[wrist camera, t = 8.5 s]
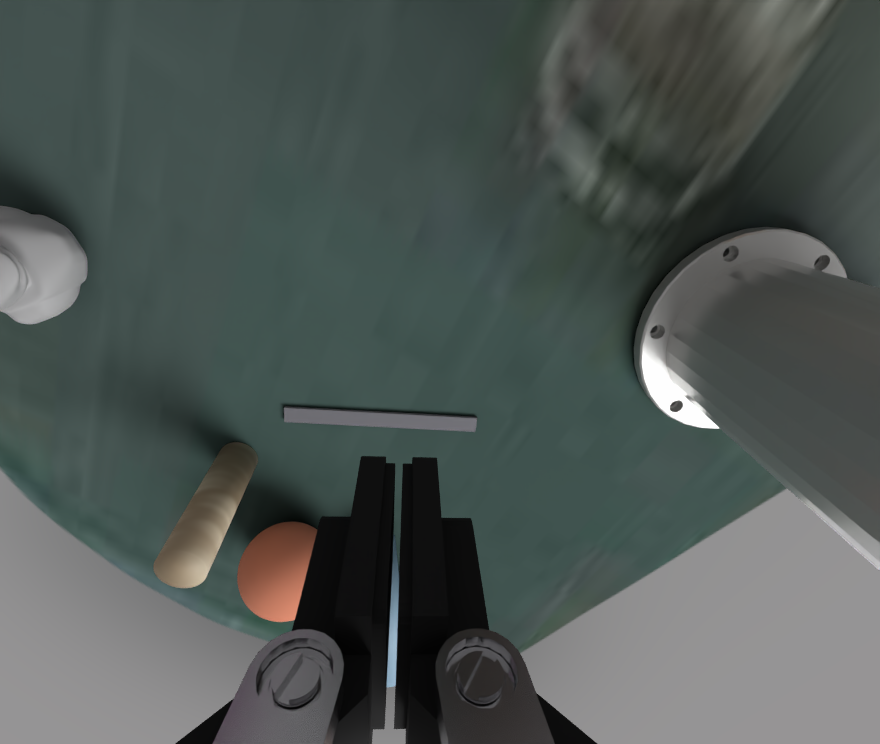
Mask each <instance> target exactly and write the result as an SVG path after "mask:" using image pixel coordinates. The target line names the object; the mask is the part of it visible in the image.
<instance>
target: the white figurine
mask: <svg viewBox="0 0 880 744" xmlns="http://www.w3.org/2000/svg"><path fill="white" fill-rule="evenodd" d="M87 272H88V263H87V257H86V254H85V252H84V250H83V248H82V247H81V245H80V244H79V242H78V241H77V239H76V238H75V236H74V235H73V234H72V233H71V231H70V230H69V229H68V228H67V227H65V226H64V225H62V224H60V223H59V222H57V221H55V220H53V219H51V218H49V217H46V216H44V215H34V214H29V213H27V212H25V211H22V210H20V209H16V208H12V207H7V206H0V311H1V312H4V313H6V314H7V315H9V316H10V317H11V318H12V319H14V320H15V321H17V322H19V323H23V324H36V323H39V322H42V321H45V320H47V319H50V318H52V317H55V316H57V315H59V314H61V313H62V312H64V311H65V310H66V309H68V308H69V307H70V306H71V305H72V304H73V303H74V301H75V300H76V298H77V296H78V294H79V291H80V285H81V284H82V283H83V282H84V281H85V280H86V278H87Z"/></svg>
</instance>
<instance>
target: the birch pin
mask: <svg viewBox="0 0 880 744" xmlns="http://www.w3.org/2000/svg"><path fill="white" fill-rule="evenodd" d="M257 463H258V456H257V454H256V452H255V451H254V449H253V448H251V447H250V446H248V445H247V444H244V443H240V442H232V443H229V444H226V445H225V446H223V447H222V449H221V450H220V452H219V453H218V455H217V457H216V459H215V460H214V462H213V464H212V465H211V467H210V469H209V470H208V472H207V474H206V475H205V477H204V479H203V481H202V482H201V484H200V486H199V487H198V489H197V491H196V492H195V494H194V496H193V498H192V499H191V501H190V503H189V504H188V506H187V508H186V509H185V511H184V513H183V514H182V516H181V518H180V520H179V521H178V523H177V525H176V526H175V528H174V530H173V531H172V533H171V535H170V537H169V538H168V540H167V542H166V543H165V545H164V547H163V548H162V550H161V552H160V553H159V555H158V557H157V559H156V560H155V562H154V572H155V574H156V576H157V577H158V578H159V579H160V580H161V581H162V582H164V583H166V584H168V585H170V586H173V587H177V588H191V587H194V586H197V585H199V584H201V583H202V582H203V581H204V580H205V578H206V576H207V574H208V572H209V570H210V568H211V565H212V563H213V561H214V559H215V556H216V554H217V552H218V550H219V548H220V545H221V543H222V541H223V539H224V536H225V534H226V532H227V530H228V528H229V525H230V523H231V521H232V519H233V516H234V514H235V512H236V510H237V508H238V505H239V503H240V501H241V499H242V496H243V494H244V492H245V490H246V487H247V485H248V483H249V481H250V479H251V476H252V474H253V472H254V470H255V467H256V465H257Z"/></svg>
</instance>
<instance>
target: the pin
mask: <svg viewBox="0 0 880 744" xmlns="http://www.w3.org/2000/svg"><path fill="white" fill-rule="evenodd" d="M398 598H399V570H398V560H397V551H396V541H395V535H393V566H392V587H391V607H390V627H389V647H388V667H387V687H392V686H396V659H397V629H398Z"/></svg>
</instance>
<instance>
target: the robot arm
mask: <svg viewBox="0 0 880 744" xmlns="http://www.w3.org/2000/svg"><path fill="white" fill-rule="evenodd" d="M652 328H653V329H652ZM634 366H635V370H636V373H637V377H638V380H639V383H640V384H641V386H642V388H643V390H644V391H645V393H646V395H647V396H648V397H649V398H650V399H651V400H652V402H653V403H654V404H655V405H656V406H657V407H658V408H659V409H660V410H661V411H662V412H664V413H665V414H666V415H667V416H669V417H671V418H673V419H675V420H677V421H679V422H681V423H683V424H686V425H690V426H694V427H698V428H712V429H719V428H720V429H721V430H722V431H723V432H725V433H726V434H727V435H728V436H729V437H730V438H731V439H732V440H733V441H735V442H736V443H737V444H738V445H739V446H740V447H741V448H742V449H744V450H745V451H746V452H747V453H748V454H749V455H750V456H751V457H753V458H754V459H755V460H756V461H757V462H758V463H759V464H760V465H761V466H763V467H764V468H765V469H766V470H767V471H768V472H769V473H770V474H772V475H773V476H774V477H775V478H776V479H777V480H778V481H779V482H781V483H782V484H783V485H784V486H785V487H786V488H787V489H788V490H790V491H791V492H792V493H793V494H794V495H795V496H796V497H798V499H800V500H801V501H802V502H803V503H804V504H805V505H806V506H807V507H809V508H810V509H811V510H812V511H813V512H814V513H815V514H817V515H818V516H819V517H820V518H821V519H822V520H823V521H824V522H825V523H827V524H828V525H829V526H830V527H831V528H832V529H833V530H834V531H835V532H837V533H838V534H839V535H840V536H841V537H842V538H843V539H845V540H846V541H847V542H848V543H849V544H850V545H851V546H852V547H853V548H855V549H856V550H857V551H858V552H859V553H860V554H861V555H863V557H865V558H866V559H867V560H868V561H869V562H871V563H872V564H873V565H874V566H875V567H876V568H877V569H878V570H879V571H880V288H877V287H874V286H870V285H867V284H864V283H860V282H857V281H854V280H850V279H848V278H847V274H846V271H845V268H844V267H843V265H842V263H841V262H840V260H839V259H838V257H837V255H836V254H835V253H834V252H833V251H832V250H831V249H830V248H829V247H828V246H826V245H825V244H824V243H823V242H822V241H820V240H818V239H816V238H814V237H812V236H810V235H808V234H805V233H801V232H797V231H793V230H789V229H784V228H774V227H758V228H748V229H743V230H740V231H736V232H733V233H729V234H726V235H723V236H721V237H719V238H717V239H715V240H713V241H711V242H709V243H707V244H705V245H703V246H701V247H700V248H698V249H697V250H696V251H694V252H693V253H691V254H690V255H688V256H687V257H686V258H684V259H683V260H682V261H681V262H680V263H679V264H678V265H677V266H676V267H675V268H674V269H672V270H671V271H670V272H669V273H668V274H667V275H666V277H665V278H664V279H663V280H662V282H661V283H660V284H659V286H658V287H657V288H656V290H655V291H654V292H653V294H652V296H651V297H650V299H649V301H648V303H647V305H646V307H645V308H644V310H643V312H642V315H641V318H640V321H639V324H638V327H637V330H636V336H635V343H634ZM394 492H395V463H386V457H375V456H362V457H361V460H360V466H359V472H358V478H357V484H356V490H355V496H354V501H353V507H352V513H351V517H322V518H321V519H320V522H319V526H318V530H317V534H316V538H315V542H314V546H313V549H312V553H311V557H310V561H309V565H308V569H307V573H306V577H305V581H304V585H303V589H302V593H301V597H300V601H299V605H298V609H297V613H296V617H295V621H294V625H293V629H292V631H291V632H287V633H284V634H282V635H280V636H278V637H277V638H275V639H273V640H271V641H270V642H269V643H268V644H267V645H266V646H264V647H263V648H262V649H261V650H260V651H259V652H258V653H257V655H256V656H255V658H254V659H253V661H252V663H251V664H250V666H249V668H248V670H247V672H246V674H245V676H244V678H243V681H242V683H241V685H240V687H239V689H238V691H237V693H236V695H235V697H234V699H233V700H231V701H230V702H229V703H227V704H226V705H225V706H224V707H222V708H221V709H220V710H218V711H217V712H216V713H214V714H213V715H212V716H211V717H209V718H208V719H207V720H205V721H204V722H203V723H202V724H200V725H199V726H198V727H196V728H195V729H194V730H192V731H191V732H190V733H189V734H187V735H186V736H185V737H184V738H182V739H181V740H180V741H178V742H177V743H176V744H372V732H373V729H384V726H385V725H384V724H385V707H386V687H387V667H388V647H389V627H390V607H391V587H392V566H393V532H394ZM394 729H406V744H597V743H596V742H594V741H593V740H592V739H591V738H590V737H588V736H587V735H586V734H585V733H584V732H582V731H581V730H580V729H579V728H578V727H576V726H575V725H574V724H573V723H572V722H570V721H569V720H568V719H567V718H566V717H565V716H563V715H562V714H561V713H560V712H559V711H557V710H556V709H555V708H554V707H552V706H551V705H550V704H549V703H548V702H546V701H545V700H544V699H543V698H542V697H541V696H539V695H538V694H537V693H536V691H535V689H534V686H533V683H532V681H531V678H530V675H529V673H528V670H527V667H526V664H525V662H524V661H523V658H522V656H521V655H520V653H519V651H518V650H517V649H516V647H515V646H514V645H513V644H512V643H511V642H510V641H509V640H508V639H506V638H504V637H503V636H501V635H499V634H498V633H496V632H493V631H489V626H488V620H487V613H486V607H485V601H484V594H483V588H482V581H481V575H480V569H479V562H478V556H477V550H476V543H475V537H474V530H473V525H472V520H471V518H441V506H440V493H439V479H438V466H437V458H424V457H413V459H412V464H403V478H402V508H401V538H400V568H399V598H398V629H397V659H396V689H395V720H394Z"/></svg>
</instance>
